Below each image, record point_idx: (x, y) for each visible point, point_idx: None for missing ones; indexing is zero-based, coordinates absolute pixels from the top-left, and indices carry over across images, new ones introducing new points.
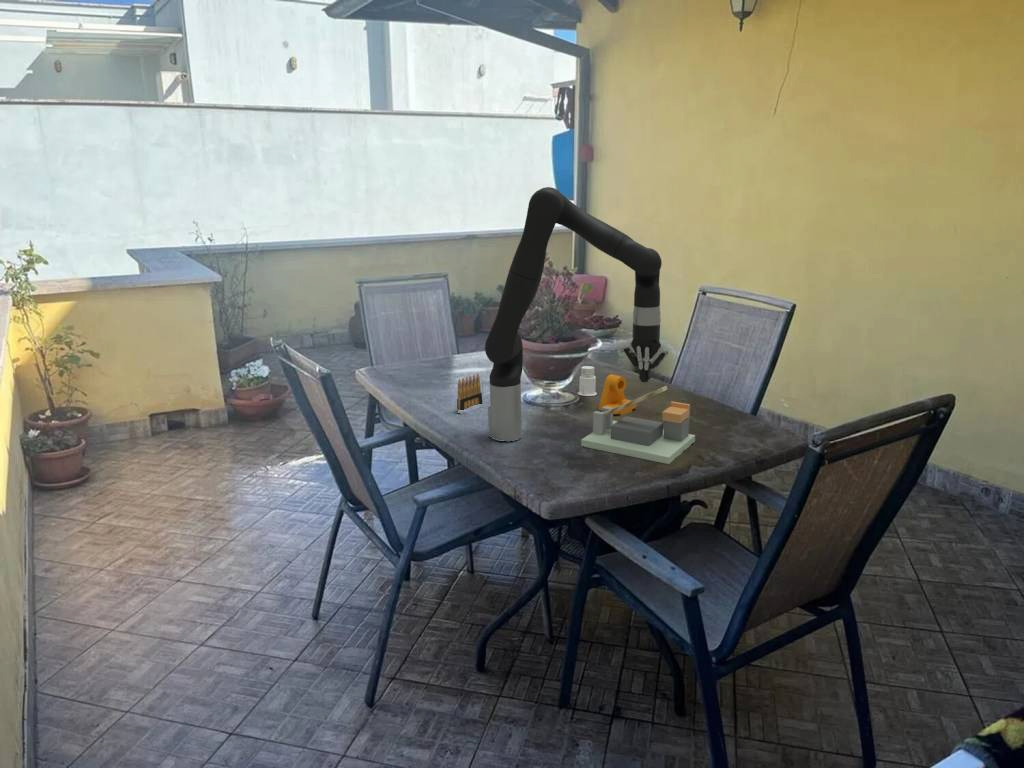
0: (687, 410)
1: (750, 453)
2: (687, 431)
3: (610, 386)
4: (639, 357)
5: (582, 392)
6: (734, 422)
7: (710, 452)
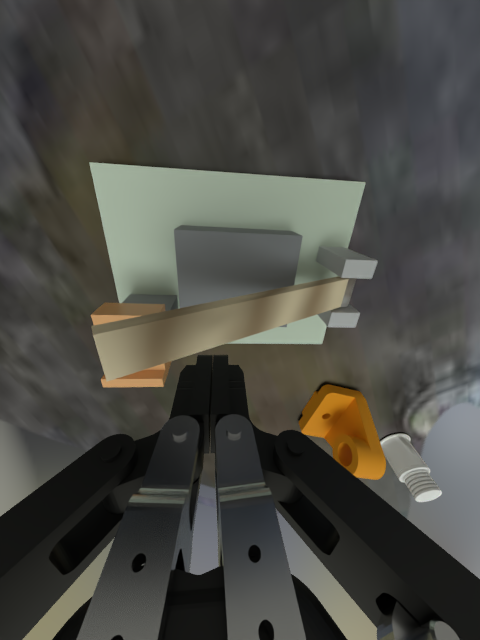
0: None
1: (3, 326)
2: None
3: (365, 442)
4: (258, 552)
5: (404, 439)
6: None
7: (70, 294)
